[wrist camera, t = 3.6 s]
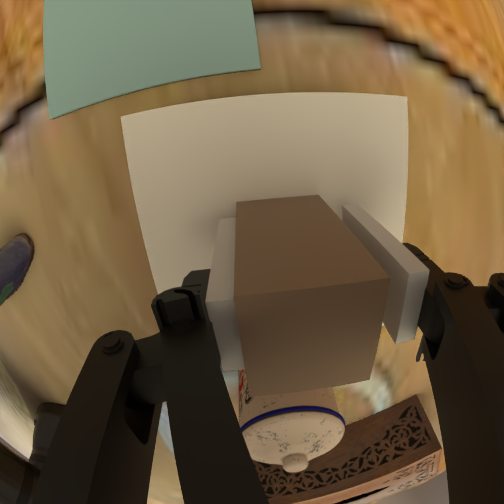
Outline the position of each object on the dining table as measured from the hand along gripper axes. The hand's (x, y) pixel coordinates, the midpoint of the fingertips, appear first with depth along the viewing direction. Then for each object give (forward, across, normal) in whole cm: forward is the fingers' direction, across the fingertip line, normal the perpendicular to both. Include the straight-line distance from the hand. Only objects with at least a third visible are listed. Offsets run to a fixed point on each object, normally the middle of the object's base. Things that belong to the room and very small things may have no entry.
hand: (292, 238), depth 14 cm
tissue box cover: (+9, +8, -40) cm, 42 cm away
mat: (+8, -8, +17) cm, 21 cm away
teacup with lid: (+8, -1, -19) cm, 21 cm away
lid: (+2, 0, 0) cm, 2 cm away
